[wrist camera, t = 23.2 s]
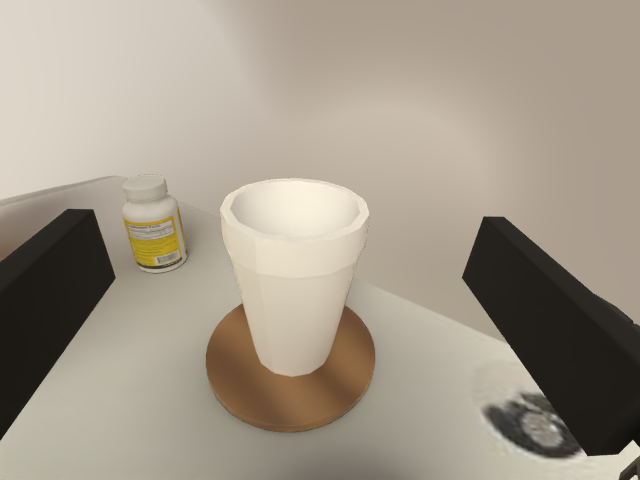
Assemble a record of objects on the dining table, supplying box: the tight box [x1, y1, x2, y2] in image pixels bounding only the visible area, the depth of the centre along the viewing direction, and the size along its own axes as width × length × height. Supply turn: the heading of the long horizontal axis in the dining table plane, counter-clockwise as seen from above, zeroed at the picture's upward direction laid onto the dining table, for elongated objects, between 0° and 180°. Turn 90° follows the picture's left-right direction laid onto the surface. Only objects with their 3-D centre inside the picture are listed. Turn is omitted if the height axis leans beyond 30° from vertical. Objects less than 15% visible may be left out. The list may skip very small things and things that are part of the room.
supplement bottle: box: [122, 174, 187, 273], centre depth 36 cm, size 5×5×10 cm
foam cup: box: [220, 178, 370, 377], centre depth 25 cm, size 10×9×13 cm
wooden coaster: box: [206, 304, 375, 432], centre depth 28 cm, size 14×14×1 cm
